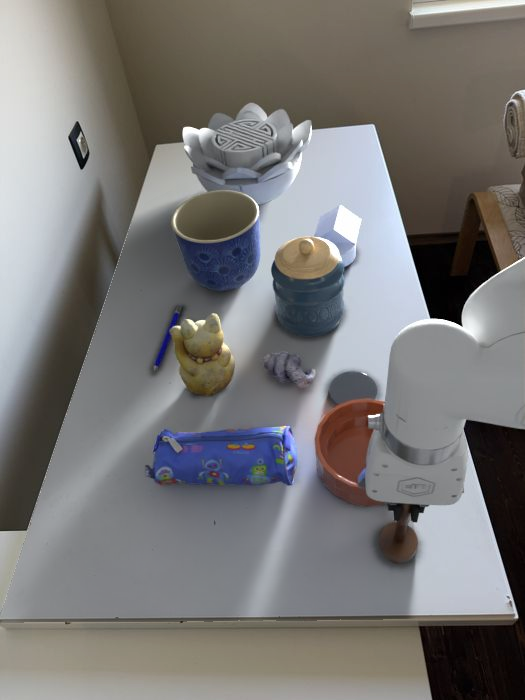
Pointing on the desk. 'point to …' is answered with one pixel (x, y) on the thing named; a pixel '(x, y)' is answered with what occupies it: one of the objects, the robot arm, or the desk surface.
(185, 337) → the decorative figurine
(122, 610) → the desk surface
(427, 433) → the robot arm
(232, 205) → the planter
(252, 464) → the pencil case
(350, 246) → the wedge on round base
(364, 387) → the grey round base
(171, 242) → the desk surface
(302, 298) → the canister
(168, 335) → the pencil
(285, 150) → the decorative bowl
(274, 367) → the seashell
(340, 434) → the mixing bowl
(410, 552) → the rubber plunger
